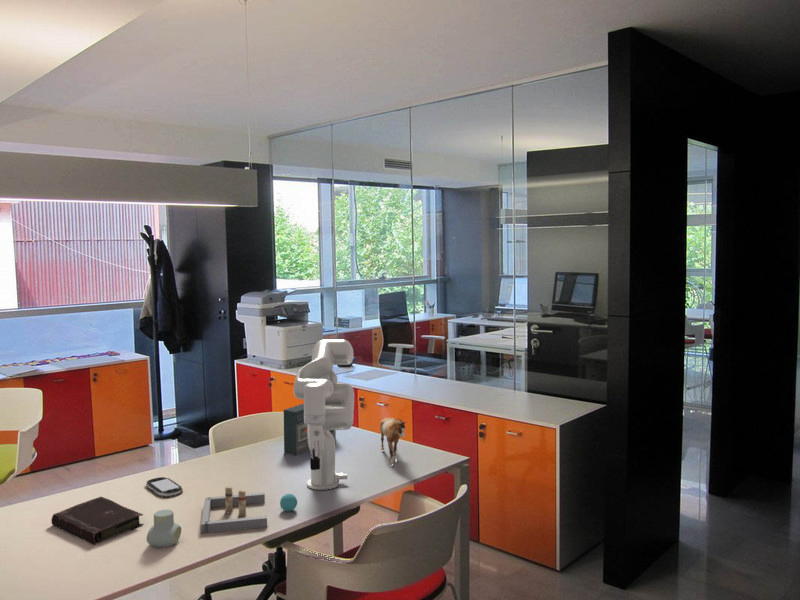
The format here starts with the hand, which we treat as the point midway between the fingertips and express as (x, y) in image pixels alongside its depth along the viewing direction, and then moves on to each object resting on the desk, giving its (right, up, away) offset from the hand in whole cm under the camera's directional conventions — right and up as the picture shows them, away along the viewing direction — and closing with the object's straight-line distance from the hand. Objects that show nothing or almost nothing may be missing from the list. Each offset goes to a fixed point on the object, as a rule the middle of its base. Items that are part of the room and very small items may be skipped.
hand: (315, 468), depth 230 cm
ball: (-9, -12, -1) cm, 15 cm away
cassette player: (-12, -9, +73) cm, 74 cm away
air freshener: (-44, -17, -26) cm, 54 cm away
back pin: (-30, -15, -1) cm, 34 cm away
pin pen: (-27, -15, -5) cm, 31 cm away
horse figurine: (+29, -10, +57) cm, 64 cm away
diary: (-71, -16, -13) cm, 74 cm away
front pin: (-25, -15, -5) cm, 29 cm away
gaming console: (-61, -14, +19) cm, 65 cm away
